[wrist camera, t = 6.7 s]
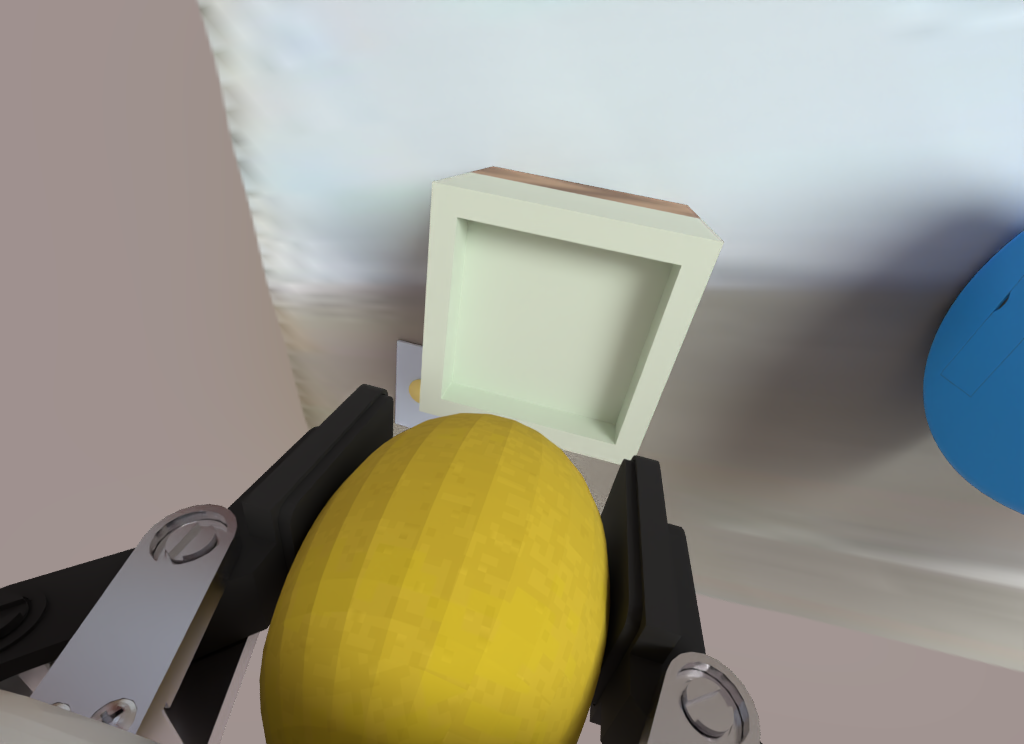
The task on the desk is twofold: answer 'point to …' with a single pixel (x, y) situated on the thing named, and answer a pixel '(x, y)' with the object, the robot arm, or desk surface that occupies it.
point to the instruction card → (409, 385)
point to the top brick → (557, 309)
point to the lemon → (444, 597)
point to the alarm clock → (983, 379)
